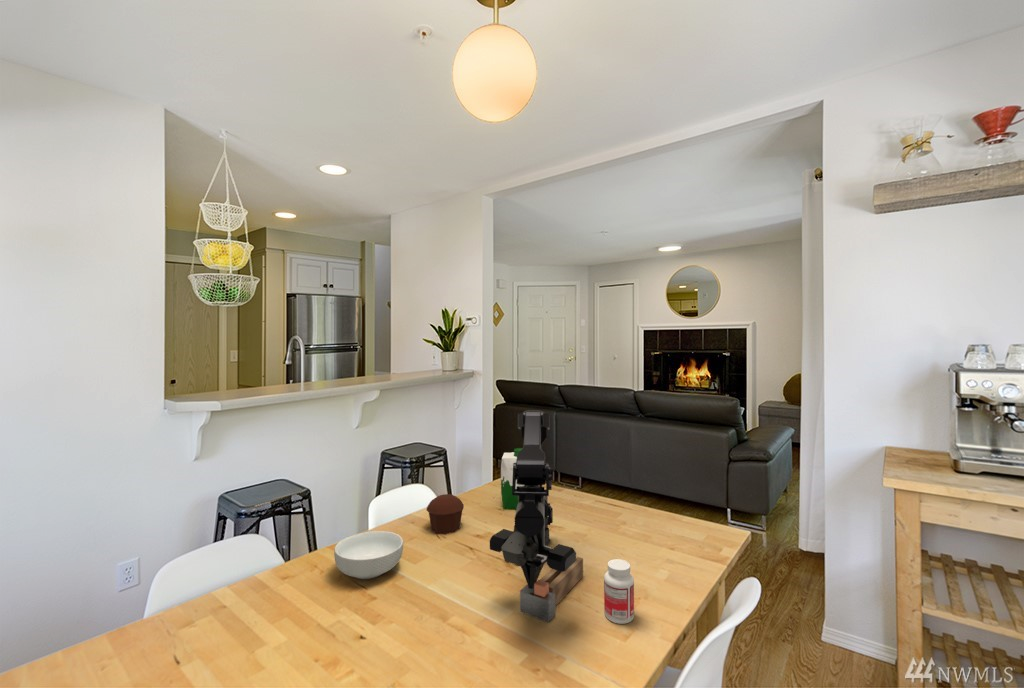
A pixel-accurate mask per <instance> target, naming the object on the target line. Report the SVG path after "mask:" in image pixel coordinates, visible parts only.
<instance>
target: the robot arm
mask: <svg viewBox="0 0 1024 688" xmlns="http://www.w3.org/2000/svg"><path fill="white" fill-rule="evenodd" d="M550 415H551V414H550V413H547V412H546V411H542V410H531V409H530V410H529V409H528V410H525V411H523V412H521V413H518V414H517V429H518V430H520V436H521V439H522V440H523V441H522V442H523V445H522V448H523V449H521V450H520V451H519V452H518V453H517V460H516V463H513V480H512V495H518V505H517V509H516V510H515V516H514V526H513V530H510V529H505V528H503V529H501V530H499V531H497V532H496V533H494V534H493V535H491V537H490V539H489V549H490V550H491V551H494V552H497V553H501V552H502V556H503V560H504V562H505V563H507V564H509V563H510V564H512V565H515V566H517V567H520V568H521V571H522V572H523V575H524V578H525V582H526V585H528V587H529V588H530V589H533V588H534V584H535V583H536V582H537V581H538V580H539V576H540V575H541V571H542V569H543V567H544V565H546V564H547V566H548V568H549V569H550V570H551V569H555V570H558V571H561V572H562V571H566V570H567V569H568V568H569V567H570V566H571V565H572V564H573V563H574V562H575V561H576V558H577V552H576V550H575V549H574V547H571V546H568V545H565V544H564V545H563V544H561V543H557V544H556V545H555V546H554V547H553V548H552V547H551V546H548V544H550V543H551V541H552V540H551V539H550V527H549V526H551V524H553V522H554V518H553V515H554V514H553V513H554V512H553V507H552V506H551V503H550V502H549V501H548V499H549V498H548V497H549V496H550V495H549V494H550V491H552V487H553V485H552V468H551V467H550V463H549V462H546V453H545V452H544V450H543V444H544V443H545V441H546V440H547V438H548V430H550V427H551V424H550V422H551V421H550V419H551V417H550ZM516 480H517V484H519V485H524V486H517V489H515V487H516ZM545 487H546V489H545Z"/></svg>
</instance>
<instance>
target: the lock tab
mask: <svg viewBox="0 0 1024 688" xmlns="http://www.w3.org/2000/svg"><path fill="white" fill-rule="evenodd" d="M548 593H549V583H548V582H545V581H542V580H540V579H537V582H536V583H535V584H534V594H536V595H539V596H542V597H545V596H546V595H547V594H548Z"/></svg>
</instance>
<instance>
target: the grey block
mask: <svg viewBox="0 0 1024 688" xmlns="http://www.w3.org/2000/svg"><path fill="white" fill-rule="evenodd" d="M520 612H521V613H523V614H524V615H525V614H526V615H528V616H531V617H533V618H536V619H538V620H540V621H544V622H545V623H550V622H551V621H552V619H553V618H555V616H556V606H555V594H553V593H551V592H549V593H548V594H547V595H546V596H545V597H542V596H539V595H536V594H534V588H533V589H530V588H529V587H528V584H526V585H525V586H524V587H522V589H520V590H519V613H520Z"/></svg>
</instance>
